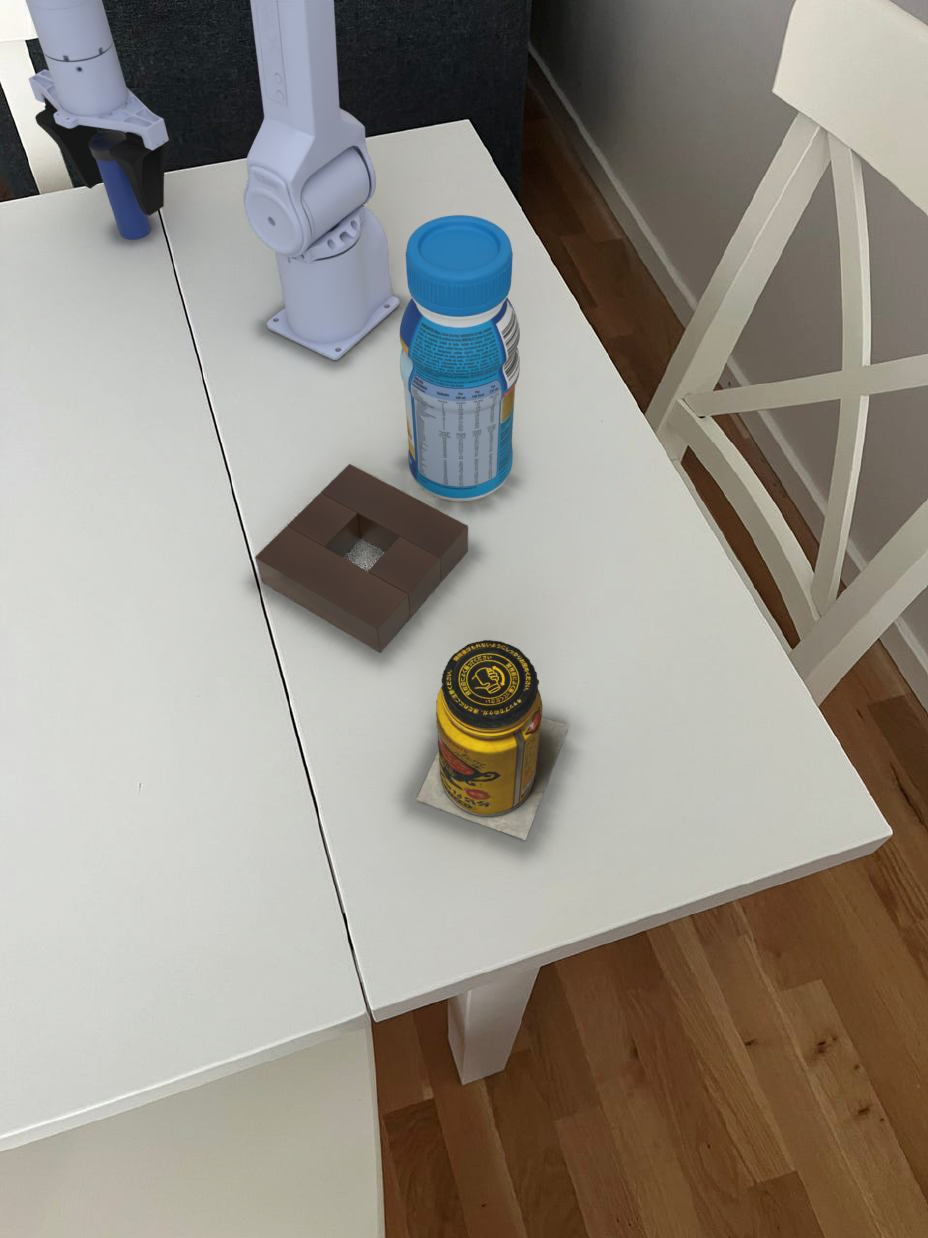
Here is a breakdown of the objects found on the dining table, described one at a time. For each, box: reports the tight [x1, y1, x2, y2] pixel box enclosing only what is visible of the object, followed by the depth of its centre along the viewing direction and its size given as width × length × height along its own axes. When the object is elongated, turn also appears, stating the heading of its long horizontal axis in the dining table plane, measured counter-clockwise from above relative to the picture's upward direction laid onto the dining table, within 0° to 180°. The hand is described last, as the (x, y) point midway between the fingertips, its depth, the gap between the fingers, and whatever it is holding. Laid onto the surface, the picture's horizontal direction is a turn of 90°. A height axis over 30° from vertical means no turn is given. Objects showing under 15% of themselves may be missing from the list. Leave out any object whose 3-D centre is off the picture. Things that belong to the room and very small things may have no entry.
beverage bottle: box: [399, 214, 521, 502], centre depth 70 cm, size 8×8×20 cm
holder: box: [254, 463, 469, 653], centre depth 71 cm, size 11×11×3 cm
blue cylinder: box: [88, 130, 152, 240], centre depth 92 cm, size 3×3×9 cm
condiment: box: [415, 639, 570, 841], centre depth 58 cm, size 7×8×12 cm
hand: (124, 195), depth 93 cm, fingers open, 7 cm apart
